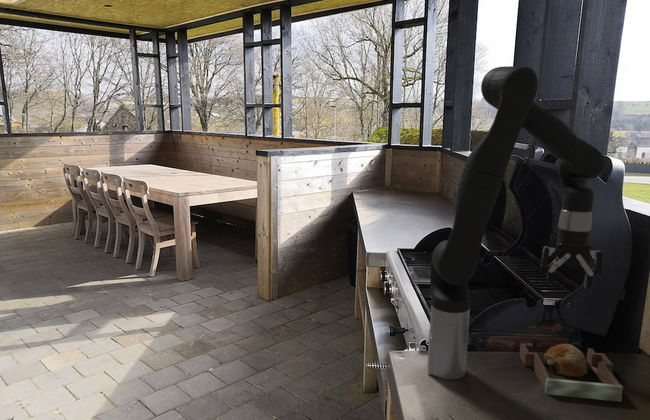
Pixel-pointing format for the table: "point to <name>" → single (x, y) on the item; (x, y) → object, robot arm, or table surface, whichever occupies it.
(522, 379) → the table surface
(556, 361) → the bread roll
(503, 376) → the table surface
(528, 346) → the box
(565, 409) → the table surface
